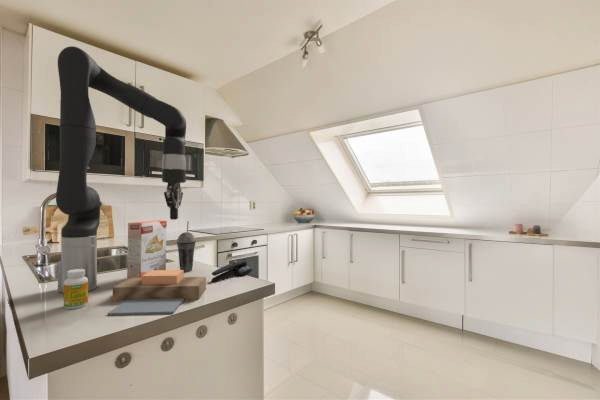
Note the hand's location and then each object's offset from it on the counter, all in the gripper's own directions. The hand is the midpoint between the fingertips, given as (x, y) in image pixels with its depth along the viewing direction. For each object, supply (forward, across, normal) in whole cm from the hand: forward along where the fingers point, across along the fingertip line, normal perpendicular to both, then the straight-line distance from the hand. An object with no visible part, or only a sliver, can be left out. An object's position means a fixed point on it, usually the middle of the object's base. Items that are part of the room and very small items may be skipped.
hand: (174, 219), depth 103 cm
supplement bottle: (+22, +19, -20) cm, 36 cm away
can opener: (+23, -9, +18) cm, 30 cm away
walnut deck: (+22, +11, 0) cm, 25 cm away
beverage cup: (+22, -19, -1) cm, 29 cm away
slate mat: (+22, +22, 0) cm, 31 cm away
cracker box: (+22, -9, -12) cm, 27 cm away
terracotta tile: (+17, +10, 0) cm, 20 cm away
